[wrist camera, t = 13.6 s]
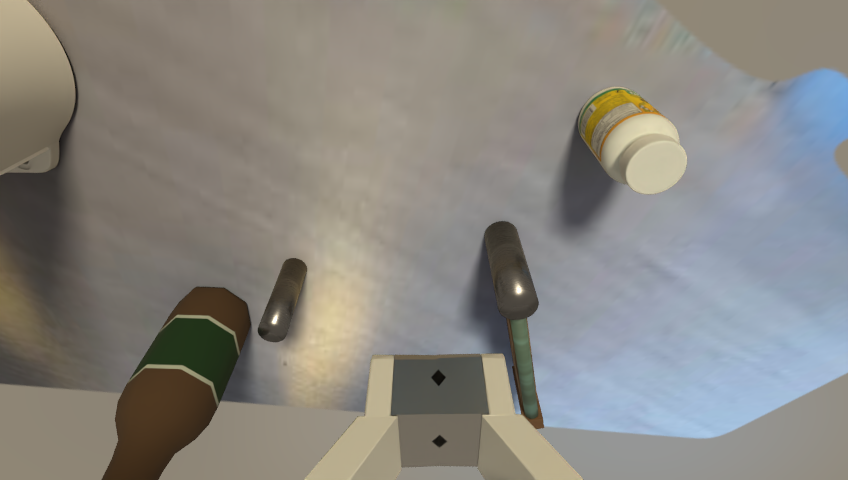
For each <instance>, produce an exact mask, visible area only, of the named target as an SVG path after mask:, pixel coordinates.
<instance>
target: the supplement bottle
mask: <svg viewBox="0 0 848 480" xmlns="http://www.w3.org/2000/svg"><path fill="white" fill-rule="evenodd" d="M578 129H579V133H580V135H581V137H582V139H583V140H584V142H585V143H586V145H587V146H588V147H589V149H590V150H591V152H592V153H593V154H594V156H595V157H596V159H597V160H598V161H599V163H600V164H601V166H602V167H603V169H604V170H605V171H606V173H607V174H608V175H609V176H610V177H611V178H612V179H614V180H615V181H617V182H620V183H623V184H627V185H628V186H629V187H630V188H631V189H632V190H634V191H636V192H638V193H641V194H647V195H649V194H657V193H660V192H663V191H665V190H667V189H669V188H670V187H672V186H673V185H674V184H675V183H677V182H678V180H679V179H680V178H681V177H682V175H683V174H684V172H685V169H686V166H687V156H686V153H685V151H684V149H683V148H682V147H681V146H680V145H679V136H678V132H677V130H676V128H675V127H674V125H673V124H672V123H671V122H670V121H669V120H668V119H667V118H665V117H664V116H663V115H662V114H661V113H659V112H658V111H657V110H656V109H655V108H653V107H652V106H651V105H650V104H649V103H648V102H646V101H645V100H644V99H643V98H642V97H640V96H639V95H638V94H637V93H635V92H634V91H632V90H629V89H627V88H623V87H610V88H607V89H604V90H602V91H600V92H598V93H596V94H595V95H593V96H592V97H591V98H590V99H589V100H588V101H587V102H586V104H585V105H584V107H583V108H582V110H581V112H580V115H579V119H578Z"/></svg>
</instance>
